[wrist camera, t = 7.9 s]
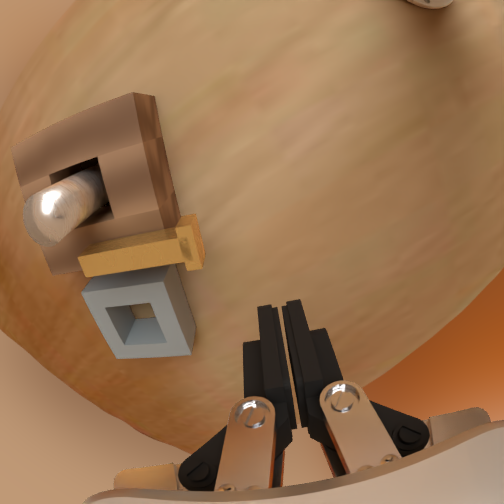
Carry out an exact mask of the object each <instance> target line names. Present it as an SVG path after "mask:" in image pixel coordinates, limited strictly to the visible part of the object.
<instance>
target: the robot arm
mask: <svg viewBox="0 0 504 504" xmlns="http://www.w3.org/2000/svg"><path fill="white" fill-rule="evenodd" d="M407 1H409V2H411V3H413V4H415V5H417V6H420V7H424V8H429V9H439V8H442V7H446V6H448V5H449V4H451V3H452V1H453V0H407ZM286 304H287V305H286V306H282V312H283V319H284V325H285V332H286V339H287V345H288V352H289V358H290V364H291V370H292V375H293V381H294V386H295V392H296V397H297V403H298V409H299V415H300V420H301V426H302V428H303V427H308V433H309V434H310V438H312V439H314V440H316V441H318V442H320V445H321V448H322V450H323V453H324V455H325V457H326V460H327V462H328V465H329V467H330V470H331V472H332V475H333V477H334V478H331V479H326V480H322V481H316V482H311V483H305V484H299V485H293V486H285V487H282V486H283V473H284V458H285V448H286V447H287V446H288V445H289V444H290V443H291V442H292V429H297V424H296V417H295V411H294V404H293V397H292V390H291V384H290V378H289V372H288V366H287V360H286V354H285V349H284V343H283V337H282V331H281V326H280V320H279V314H278V309H277V307H275V308H272V306H271V305H265V306H259V307H257V308H258V320H259V332H260V340H256V341H250V342H243V371H244V399H241V400H240V401H238V402H237V403H236V404H235V405H234V406H233V407H232V409H231V412H230V415H229V420H228V425H226V426H225V427H224V428H223V429H222V430H221V431H220V432H218V433H217V434H216V435H215V436H214V437H213V438H211V439H210V440H209V441H208V442H207V443H205V444H204V445H203V446H202V447H201V448H199V449H198V450H197V451H196V452H195V453H193V454H192V455H191V456H190V457H188V458H187V459H186V460H185V461H184V462H183V463H181V464H174V463H169V464H163V465H156V466H149V467H140V468H131V469H125V470H122V471H121V472H119V473H118V474H117V475H116V477H115V478H114V490H108V491H104V492H100V493H97V494H95V495H92V496H90V497H89V498H87V499H86V500H85V501H84V503H83V504H504V420H500V421H494V422H491V421H490V417H489V415H488V413H487V412H486V411H485V410H484V409H481V408H478V407H476V408H470V409H466V410H462V411H457V412H453V413H448V414H443V415H439V416H433V417H429V419H428V420H423V421H421V420H420V419H418V418H415V417H412V416H409V415H406V414H404V413H401V412H398V411H395V410H393V409H390V408H388V407H385V406H382V405H380V404H377V403H375V402H372V401H370V400H368V398H367V396H366V394H365V393H364V391H363V389H362V388H361V387H360V386H359V385H357V384H356V383H354V382H351V381H344V380H343V377H342V374H341V371H340V368H339V365H338V362H337V359H336V356H335V353H334V351H333V348H332V345H331V342H330V339H329V336H328V333H327V331H326V329H325V328H322V329H317V330H312V331H309V328H308V324H307V321H306V317H305V314H304V310H303V307H302V304H301V300H300V299H298V300H293V301H288V302H286Z"/></svg>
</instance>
